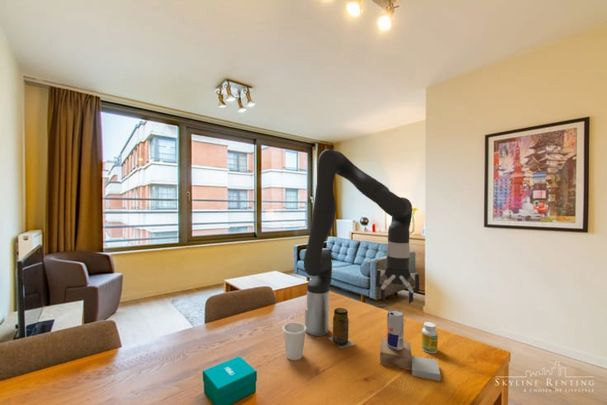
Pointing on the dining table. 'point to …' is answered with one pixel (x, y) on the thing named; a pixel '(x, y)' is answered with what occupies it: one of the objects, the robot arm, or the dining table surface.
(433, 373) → the slate coaster
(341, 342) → the condiment
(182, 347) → the dining table surface
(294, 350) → the dixie cup
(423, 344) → the supplement bottle
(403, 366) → the walnut base
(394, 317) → the energy drink
